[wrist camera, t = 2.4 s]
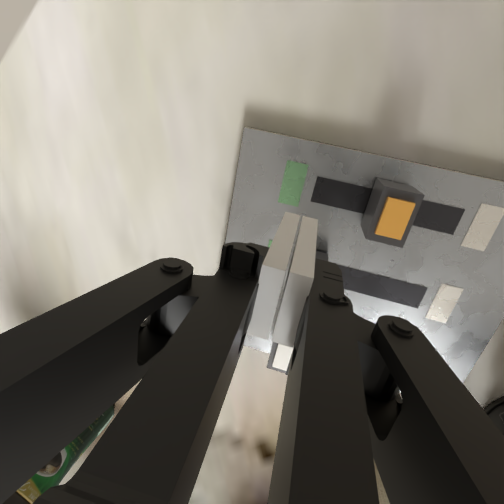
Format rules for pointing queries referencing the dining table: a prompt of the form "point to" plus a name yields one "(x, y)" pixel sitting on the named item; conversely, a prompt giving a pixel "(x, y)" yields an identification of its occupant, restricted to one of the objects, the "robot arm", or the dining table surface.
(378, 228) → the orange and grey switch
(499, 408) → the french press
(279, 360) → the breaker back
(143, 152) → the dining table surface
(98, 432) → the coffee jar
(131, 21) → the dining table surface
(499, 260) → the panel
